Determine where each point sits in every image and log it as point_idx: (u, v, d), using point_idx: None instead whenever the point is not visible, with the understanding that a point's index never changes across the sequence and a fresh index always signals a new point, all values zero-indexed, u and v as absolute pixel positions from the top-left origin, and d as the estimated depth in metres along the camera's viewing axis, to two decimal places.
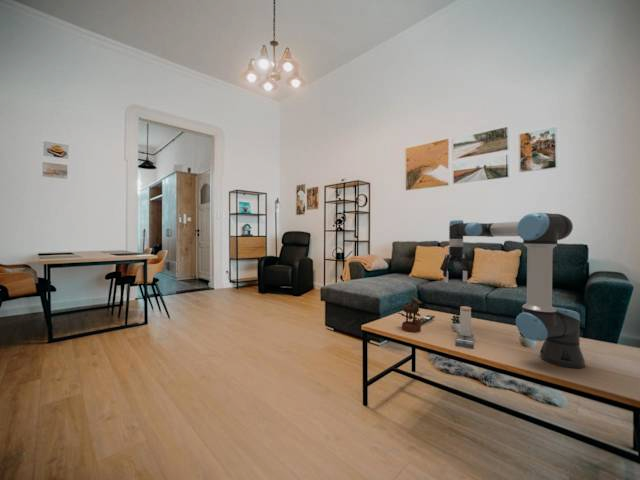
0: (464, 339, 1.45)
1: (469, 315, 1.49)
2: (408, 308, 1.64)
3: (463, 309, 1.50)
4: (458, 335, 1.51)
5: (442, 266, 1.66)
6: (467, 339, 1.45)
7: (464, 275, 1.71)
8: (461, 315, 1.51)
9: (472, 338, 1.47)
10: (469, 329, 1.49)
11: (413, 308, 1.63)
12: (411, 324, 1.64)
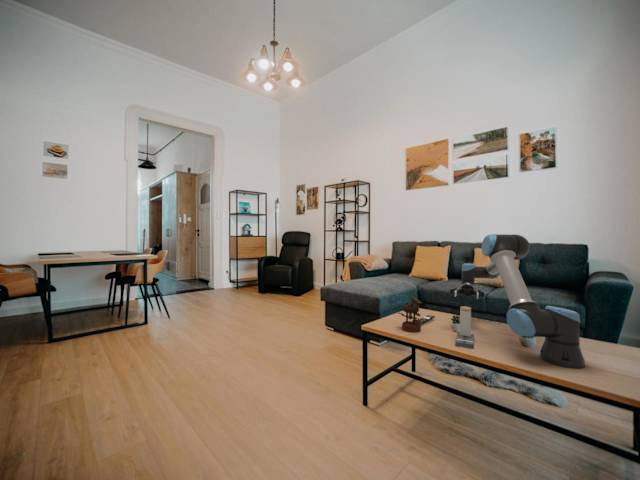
0: (464, 339, 1.45)
1: (469, 315, 1.49)
2: (408, 308, 1.64)
3: (463, 309, 1.50)
4: (458, 335, 1.51)
5: None
6: (467, 339, 1.45)
7: None
8: (461, 315, 1.51)
9: (472, 338, 1.47)
10: (469, 329, 1.49)
11: (413, 308, 1.63)
12: (411, 324, 1.64)
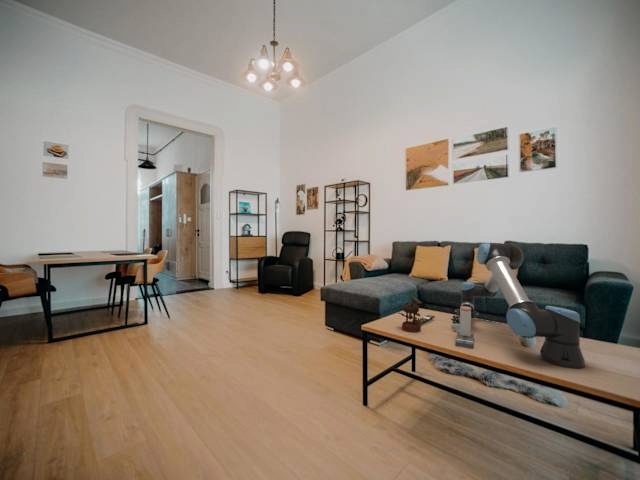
0: (464, 339, 1.45)
1: (469, 315, 1.49)
2: (408, 308, 1.64)
3: (463, 309, 1.50)
4: (458, 335, 1.51)
5: (458, 313, 1.67)
6: (467, 339, 1.45)
7: None
8: (461, 315, 1.51)
9: (472, 338, 1.47)
10: (469, 329, 1.49)
11: (413, 308, 1.63)
12: (411, 324, 1.64)
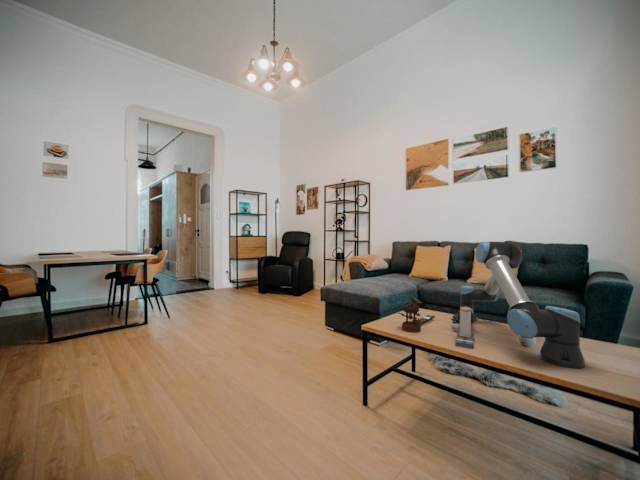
0: (464, 339, 1.45)
1: (469, 316, 1.48)
2: (408, 308, 1.64)
3: (463, 310, 1.49)
4: (458, 335, 1.51)
5: (457, 318, 1.63)
6: (467, 339, 1.45)
7: None
8: (461, 316, 1.49)
9: (472, 338, 1.47)
10: (469, 330, 1.48)
11: (413, 308, 1.63)
12: (411, 324, 1.64)
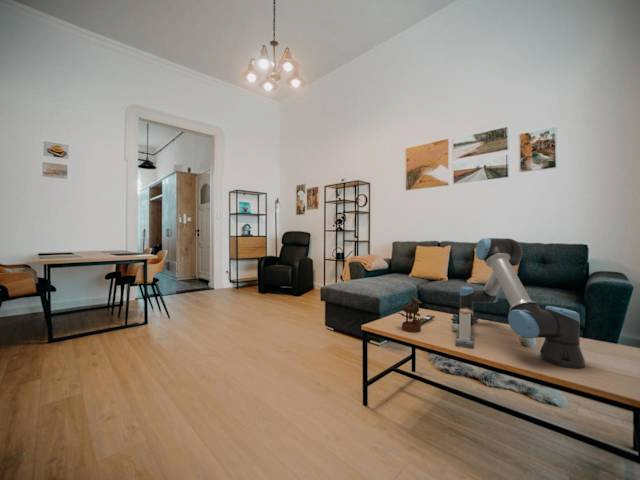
0: None
1: (469, 318, 1.43)
2: (408, 308, 1.64)
3: (462, 312, 1.44)
4: (458, 335, 1.51)
5: (456, 320, 1.59)
6: None
7: None
8: (460, 318, 1.45)
9: (472, 338, 1.47)
10: (469, 333, 1.43)
11: (413, 308, 1.63)
12: (411, 324, 1.64)
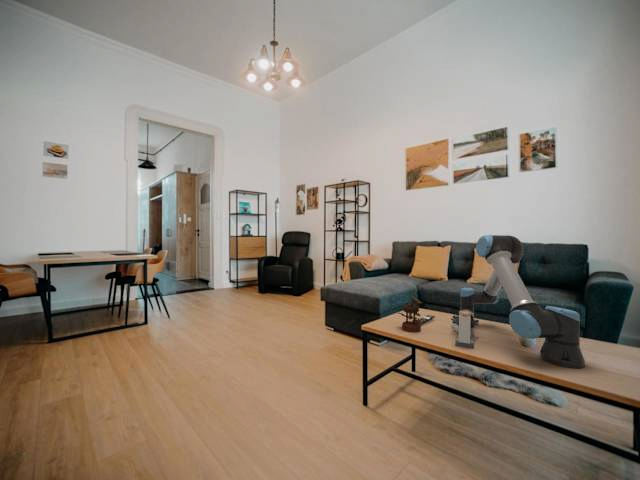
0: None
1: (468, 320, 1.39)
2: (408, 308, 1.64)
3: (462, 314, 1.40)
4: (458, 335, 1.51)
5: (457, 322, 1.54)
6: None
7: None
8: (460, 320, 1.40)
9: (472, 338, 1.47)
10: (468, 335, 1.39)
11: (413, 308, 1.63)
12: (411, 324, 1.64)
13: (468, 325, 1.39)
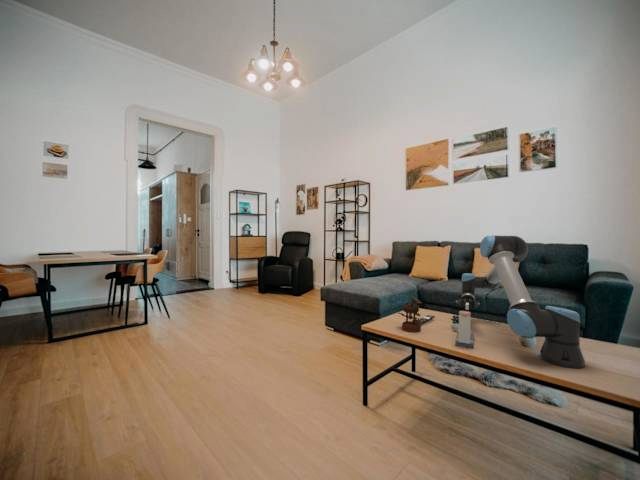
0: None
1: (468, 320, 1.39)
2: (408, 308, 1.64)
3: (462, 314, 1.40)
4: (458, 335, 1.51)
5: (459, 303, 1.64)
6: None
7: None
8: (460, 320, 1.40)
9: (472, 338, 1.47)
10: (468, 336, 1.39)
11: (413, 308, 1.63)
12: (411, 324, 1.64)
13: (468, 325, 1.39)
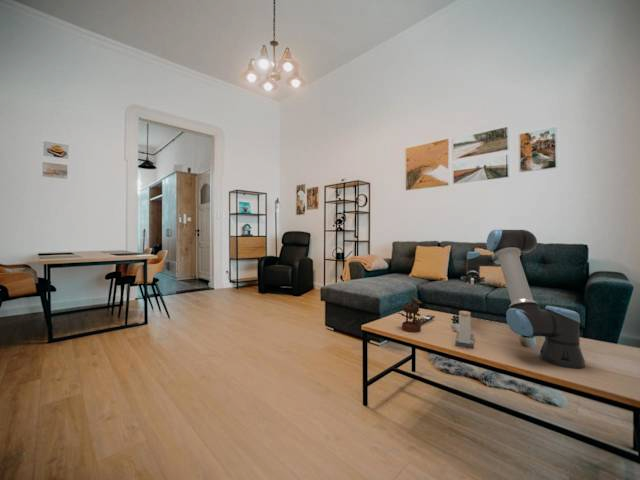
0: None
1: (468, 320, 1.39)
2: (408, 308, 1.64)
3: (462, 314, 1.40)
4: (458, 335, 1.51)
5: (464, 279, 1.66)
6: None
7: None
8: (460, 320, 1.40)
9: (472, 338, 1.47)
10: (468, 336, 1.39)
11: (413, 308, 1.63)
12: (411, 324, 1.64)
13: (468, 325, 1.39)
